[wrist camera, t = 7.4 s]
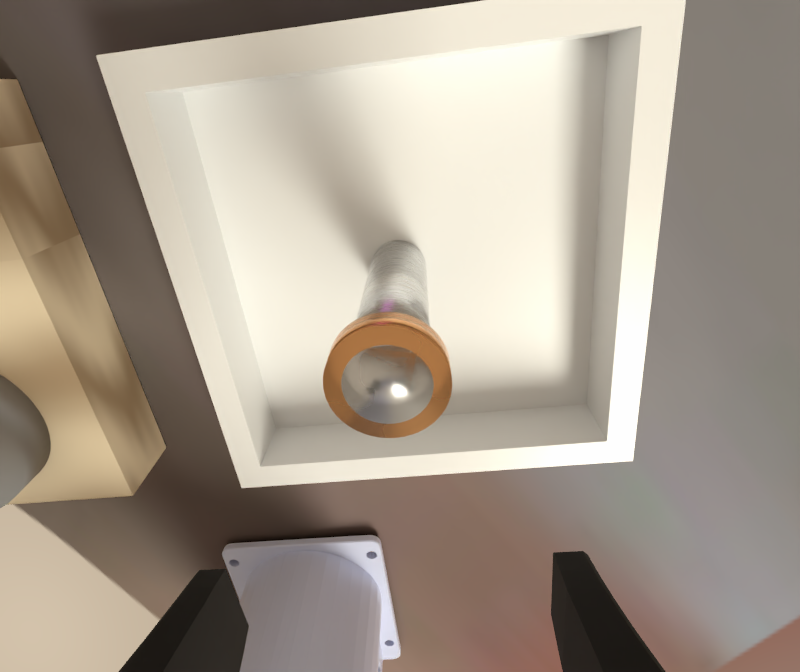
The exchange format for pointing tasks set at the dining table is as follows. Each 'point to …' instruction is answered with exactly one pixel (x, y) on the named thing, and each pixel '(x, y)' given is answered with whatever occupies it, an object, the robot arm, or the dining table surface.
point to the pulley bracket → (59, 343)
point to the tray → (415, 220)
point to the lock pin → (390, 352)
